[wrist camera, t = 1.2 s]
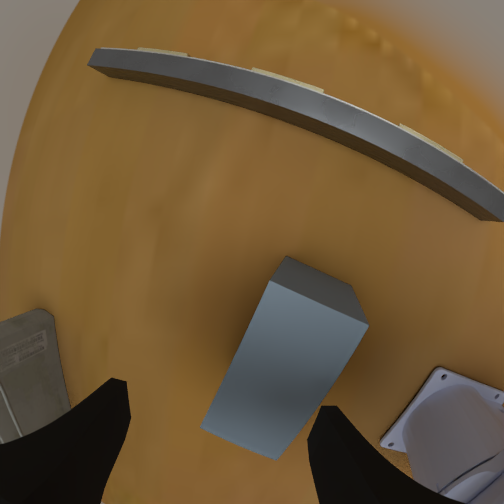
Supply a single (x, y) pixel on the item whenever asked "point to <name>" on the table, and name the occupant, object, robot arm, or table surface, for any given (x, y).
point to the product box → (287, 359)
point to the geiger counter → (30, 375)
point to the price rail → (311, 119)
